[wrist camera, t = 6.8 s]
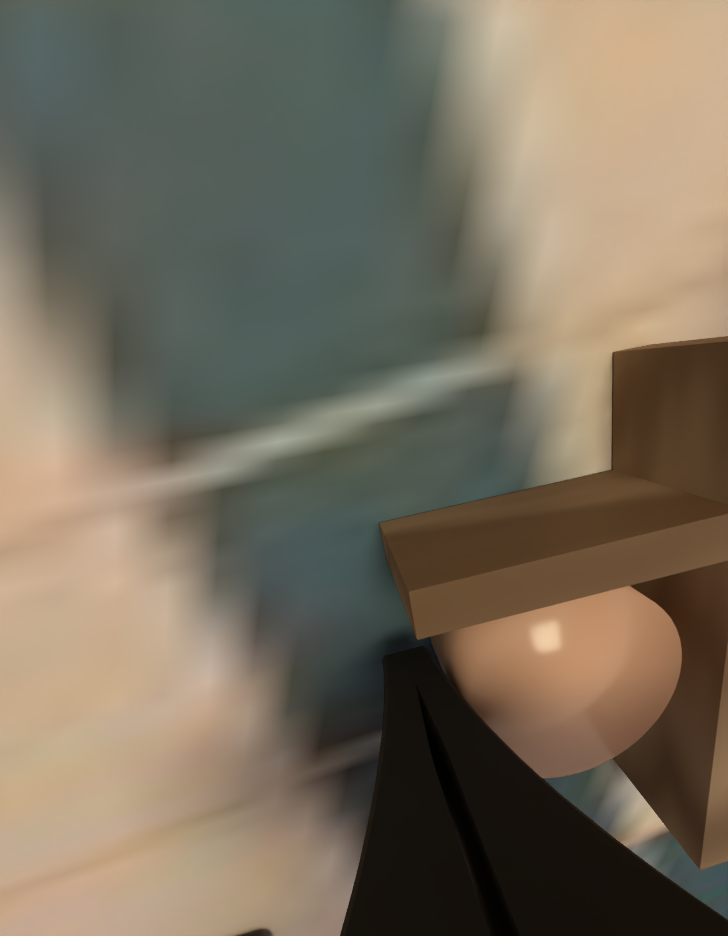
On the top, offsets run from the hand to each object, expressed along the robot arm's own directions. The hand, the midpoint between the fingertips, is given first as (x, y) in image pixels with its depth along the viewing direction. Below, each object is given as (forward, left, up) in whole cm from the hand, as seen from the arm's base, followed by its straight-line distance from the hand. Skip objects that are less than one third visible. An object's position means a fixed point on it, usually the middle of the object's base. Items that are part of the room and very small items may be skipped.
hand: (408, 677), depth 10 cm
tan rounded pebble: (0, -4, -1) cm, 4 cm away
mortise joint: (0, -5, -1) cm, 5 cm away
